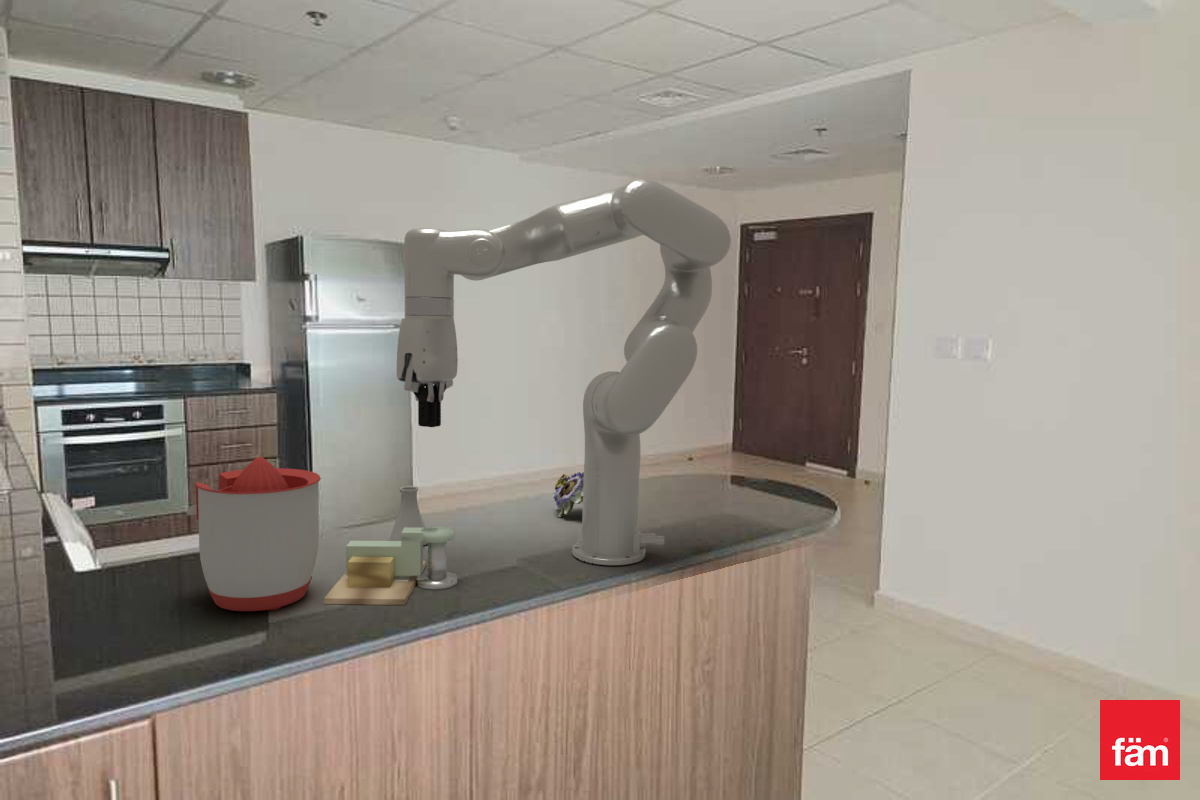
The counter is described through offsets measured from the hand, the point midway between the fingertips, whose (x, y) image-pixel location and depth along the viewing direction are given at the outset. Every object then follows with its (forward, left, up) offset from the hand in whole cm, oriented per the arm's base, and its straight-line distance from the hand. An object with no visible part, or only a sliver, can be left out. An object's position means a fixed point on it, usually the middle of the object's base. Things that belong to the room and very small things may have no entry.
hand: (429, 425), depth 120 cm
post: (-3, +9, -23) cm, 24 cm away
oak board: (+6, +10, -23) cm, 25 cm away
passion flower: (-26, -32, -23) cm, 47 cm away
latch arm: (+2, +9, -21) cm, 23 cm away
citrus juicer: (+21, +16, -23) cm, 35 cm away
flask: (+5, -11, -23) cm, 26 cm away
